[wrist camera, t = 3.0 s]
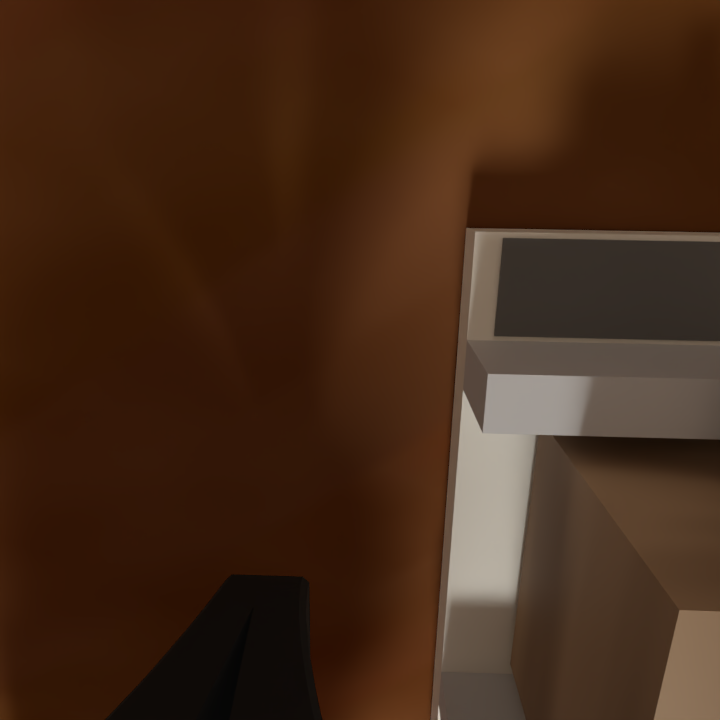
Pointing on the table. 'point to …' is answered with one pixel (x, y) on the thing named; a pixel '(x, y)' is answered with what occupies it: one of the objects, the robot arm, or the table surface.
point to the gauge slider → (621, 581)
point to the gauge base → (556, 407)
